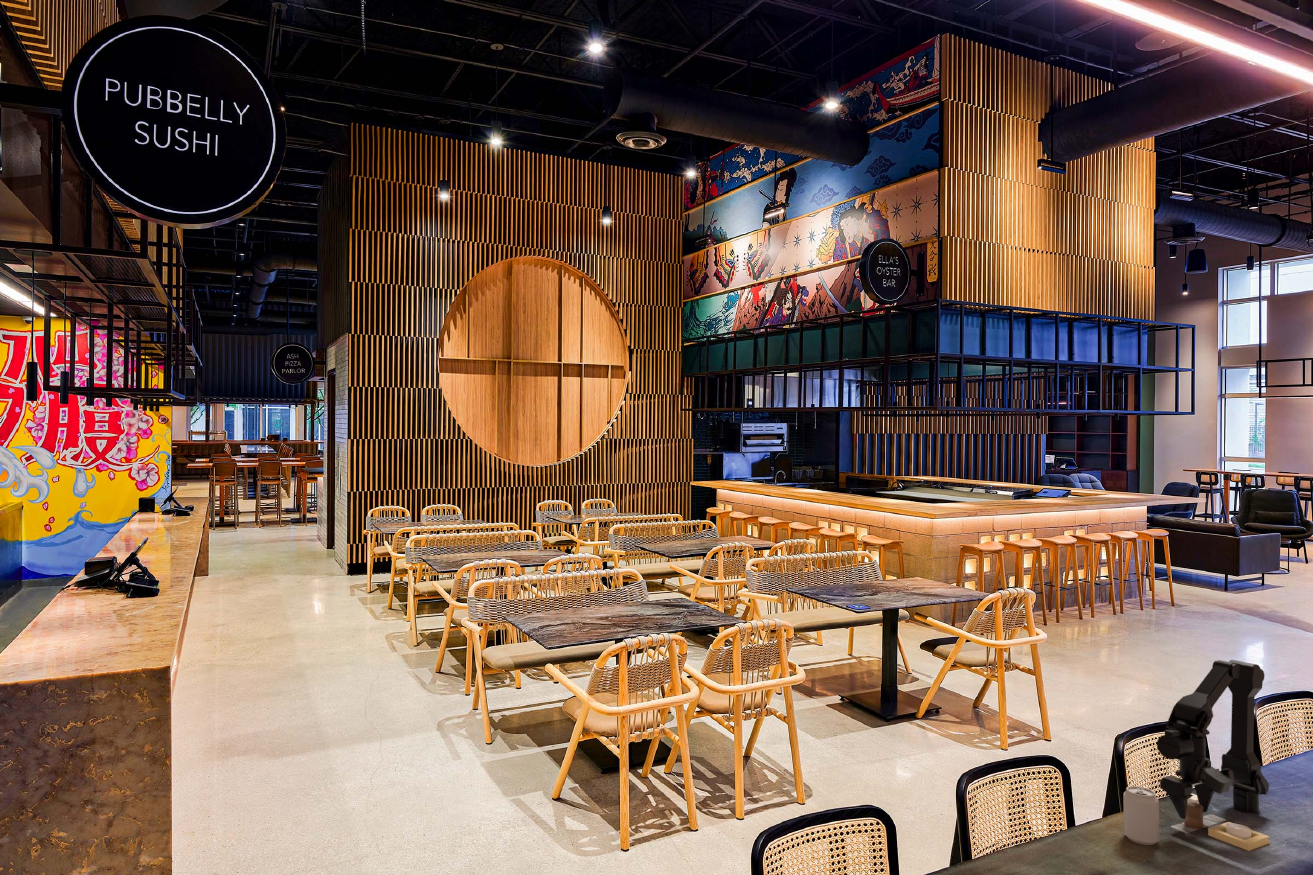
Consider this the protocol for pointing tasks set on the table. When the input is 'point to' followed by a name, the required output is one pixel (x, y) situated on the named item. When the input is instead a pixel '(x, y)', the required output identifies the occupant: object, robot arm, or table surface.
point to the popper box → (1248, 844)
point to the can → (1141, 815)
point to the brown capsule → (1194, 815)
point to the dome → (1238, 830)
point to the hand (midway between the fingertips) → (1193, 814)
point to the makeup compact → (1205, 822)
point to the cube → (1193, 799)
